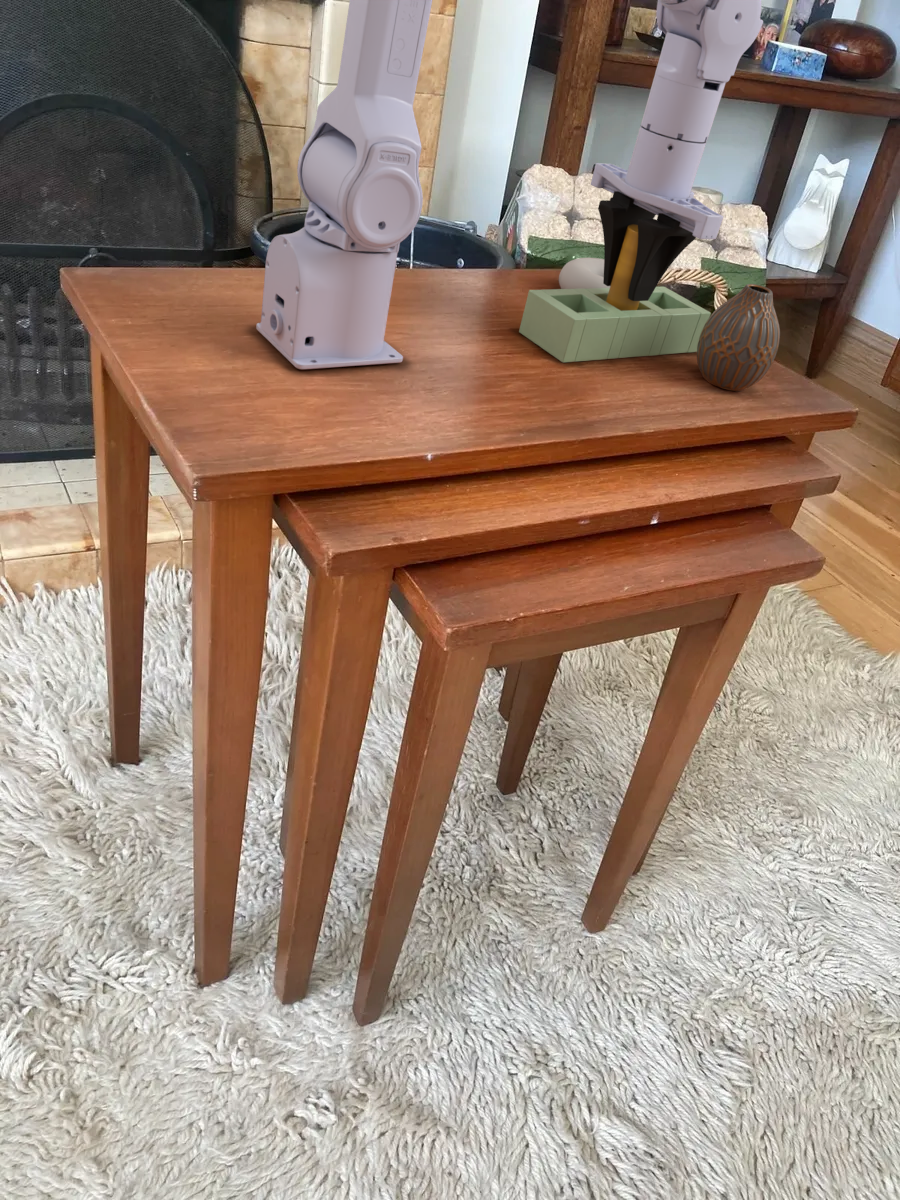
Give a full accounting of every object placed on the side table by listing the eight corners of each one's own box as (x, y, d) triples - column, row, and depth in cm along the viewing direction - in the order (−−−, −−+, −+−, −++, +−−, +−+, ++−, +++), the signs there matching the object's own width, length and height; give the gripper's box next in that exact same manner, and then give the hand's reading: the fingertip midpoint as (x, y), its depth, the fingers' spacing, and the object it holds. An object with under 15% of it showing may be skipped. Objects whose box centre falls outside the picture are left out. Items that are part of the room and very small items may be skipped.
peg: (616, 324, 89) (643, 235, 84) (596, 311, 91) (621, 224, 86) (640, 322, 90) (667, 236, 86) (619, 310, 92) (645, 224, 88)
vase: (673, 365, 90) (705, 271, 85) (731, 365, 93) (765, 275, 88) (715, 398, 85) (752, 302, 80) (775, 398, 88) (814, 305, 83)
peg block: (562, 362, 85) (574, 319, 83) (518, 332, 89) (528, 289, 87) (697, 352, 94) (711, 312, 92) (651, 324, 99) (664, 286, 96)
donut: (650, 329, 98) (644, 296, 106) (661, 296, 96) (654, 265, 104) (553, 307, 97) (555, 276, 105) (562, 274, 95) (563, 244, 103)
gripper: (768, 161, 79) (710, 321, 87) (649, 114, 88) (607, 263, 96) (709, 157, 75) (654, 324, 83) (592, 108, 84) (552, 263, 92)
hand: (625, 292), depth 89 cm, fingers closed on peg, 3 cm apart
